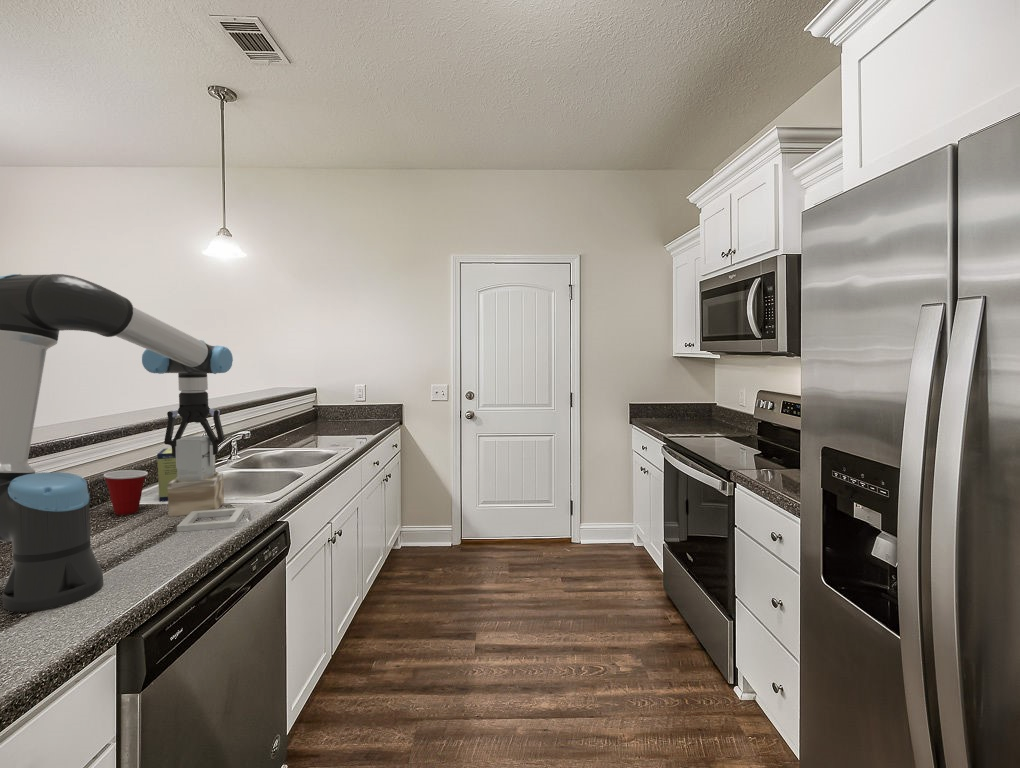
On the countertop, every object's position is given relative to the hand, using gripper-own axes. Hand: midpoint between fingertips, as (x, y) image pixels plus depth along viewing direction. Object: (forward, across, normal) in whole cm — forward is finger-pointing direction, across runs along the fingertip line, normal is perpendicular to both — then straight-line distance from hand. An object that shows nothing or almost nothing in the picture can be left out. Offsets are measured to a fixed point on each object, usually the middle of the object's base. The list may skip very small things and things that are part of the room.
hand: (195, 466), depth 163 cm
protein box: (+13, +7, -18) cm, 24 cm away
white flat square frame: (+13, -8, +15) cm, 21 cm away
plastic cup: (+13, +19, -2) cm, 23 cm away
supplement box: (+4, 0, 0) cm, 4 cm away
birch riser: (+13, 0, 0) cm, 13 cm away
